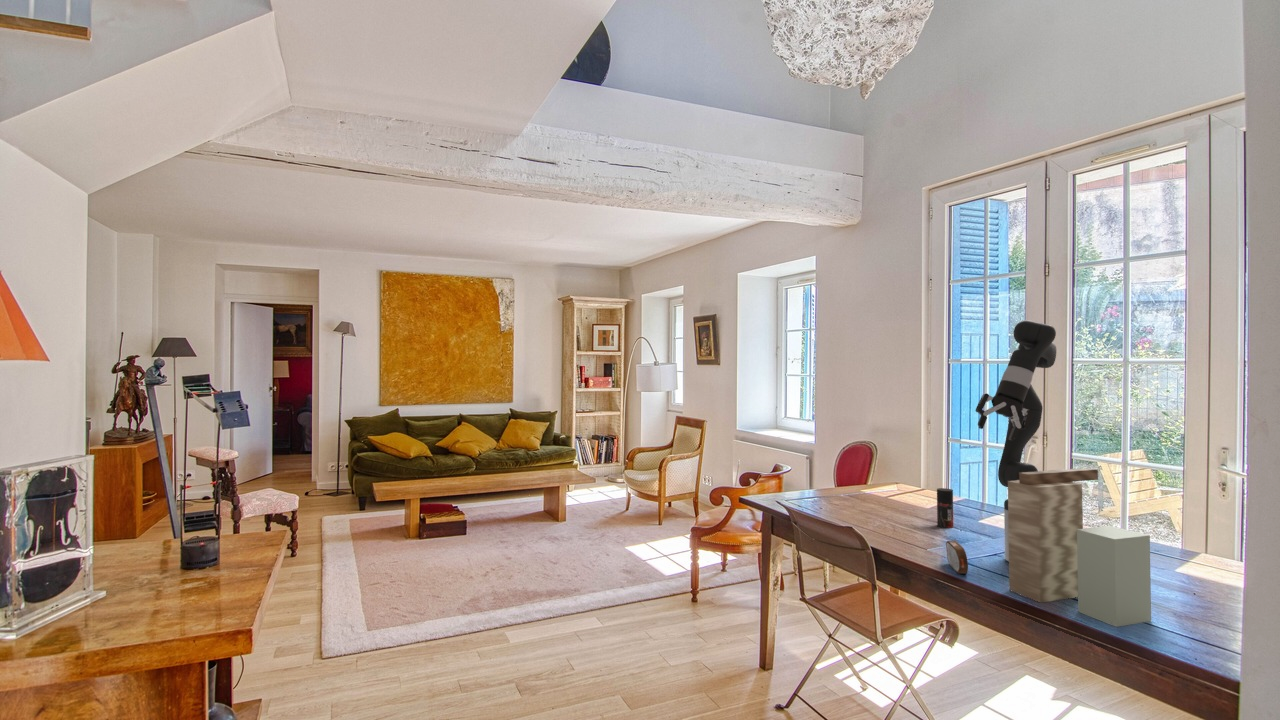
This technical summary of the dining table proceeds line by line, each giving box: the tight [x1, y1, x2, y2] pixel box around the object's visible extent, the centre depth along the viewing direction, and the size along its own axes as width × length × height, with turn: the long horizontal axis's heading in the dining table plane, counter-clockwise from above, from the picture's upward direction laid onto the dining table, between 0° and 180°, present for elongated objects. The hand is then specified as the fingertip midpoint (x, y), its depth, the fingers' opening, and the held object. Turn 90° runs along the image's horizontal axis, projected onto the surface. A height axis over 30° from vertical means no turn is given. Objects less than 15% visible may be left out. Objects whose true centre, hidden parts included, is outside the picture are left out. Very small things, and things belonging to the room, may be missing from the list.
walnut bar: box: [1019, 467, 1099, 485], centre depth 181 cm, size 26×3×3 cm, turn 106°
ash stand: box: [1007, 480, 1084, 603], centre depth 180 cm, size 16×10×32 cm, turn 106°
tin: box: [945, 539, 969, 575], centre depth 201 cm, size 15×3×8 cm, turn 168°
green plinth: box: [1077, 525, 1152, 628], centre depth 163 cm, size 12×10×22 cm
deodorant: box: [936, 487, 954, 529], centre depth 255 cm, size 6×6×15 cm
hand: (995, 434), depth 185 cm, fingers open, 8 cm apart
